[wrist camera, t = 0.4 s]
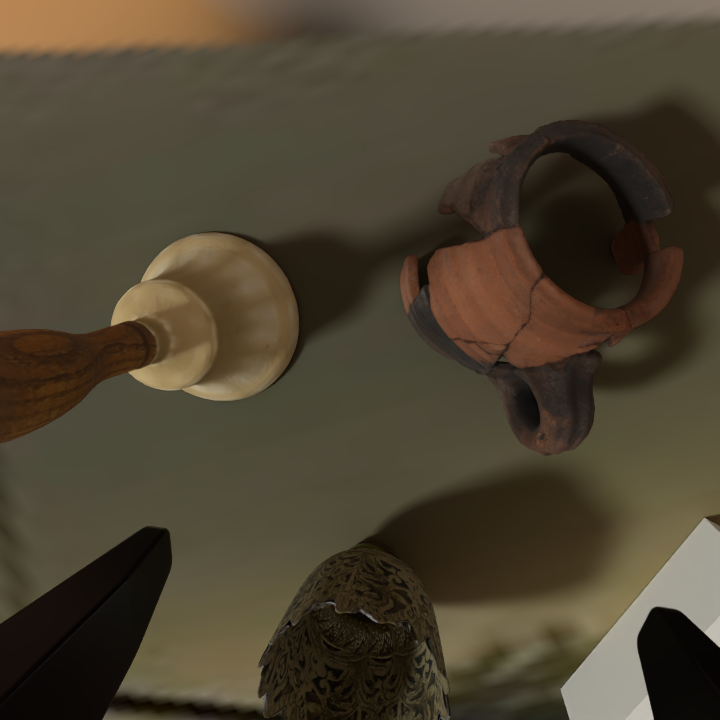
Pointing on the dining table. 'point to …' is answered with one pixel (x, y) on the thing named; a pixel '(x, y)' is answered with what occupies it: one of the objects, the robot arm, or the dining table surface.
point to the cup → (357, 645)
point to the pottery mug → (540, 283)
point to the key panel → (619, 647)
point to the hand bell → (163, 335)
